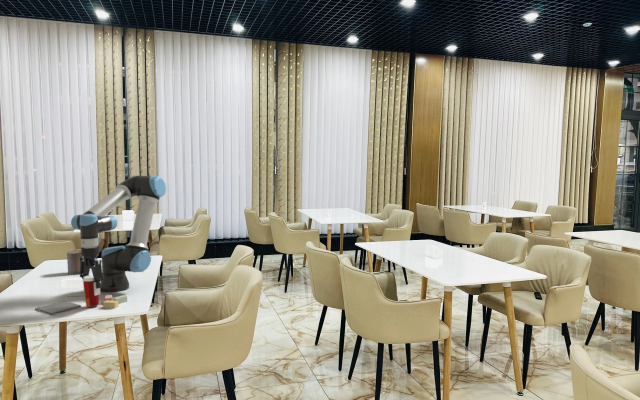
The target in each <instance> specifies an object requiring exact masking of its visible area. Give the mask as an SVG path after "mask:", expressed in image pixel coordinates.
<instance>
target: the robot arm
mask: <svg viewBox="0 0 640 400" xmlns="http://www.w3.org/2000/svg"><path fill="white" fill-rule="evenodd" d="M166 192H167V185H166V183H165V180H164V179H163V177H160V176H158V175H134V176H130V177H129V178H127V179H125V180H124V181H122V182H120V183H118V185H116V186H115V189H114V190H113V191H112V192H110V193H109V194H108V195H107V196H105V197H104V198H102V199H101V200H100V201H99V202H97V203H96V204H94V205H93V206H92V207H91V208H89V209H88V210H86V211H85V212H83V214H75V215H74V216H73V217H72V218H71V219H70V225H71V227H72V228H73V229H74V230H78V231H80V246H81V248H80V250H81V255H82V256H84V257H81V258H80V274H79V277H80V278H81V279H82V280H83V278H84V277H85V276H89V275H90V272H92V275H93V277H94V280H95V281H93V282H94V295H95V296H96V295H99V296H100V295H101V292H103V293H115V292H121V291H125V290H128V289H130V282H129V279H128V277H127V274H126V272H132V273H142V272H143V273H144V271H146V270H147V269H148V268H149V266H150V265H151V262H152V255H151V253H150V251H149V247H148V246H147V244H148V239H149V235H150V231H151V230H150V229H151V226H152V225H151V224H152V222H153V216H154V211H155V206H156V205H157V203H158V202H159V201H160V198H162V197H163V196H165V194H166ZM133 197H136V198H137V199H138V205H137V210H136V213H135V214H136V215H135V218H134V223H133V227H132V231H131V236H130V239H129V243H127V244H125V245H119V246H118V245H117V246H111V247H106V248H104V249H102V251H101V259H98V257H97V256H98V255H99V253H100V250H99V249H100V247H99V243H100V242H99V233H103V232H104V233H105V232H110V231H113V230H115V229H116V228H117V227H118V220H117V218H116V216H114V215H113V214H112V215H111V214H109V213H110V212H111V211H113V210H115V208H117V207H118V206H119V205H121V204H122V203H123V202H125V201H127V200H129V199H131V198H133ZM108 214H109V215H108ZM90 269H91V271H90ZM82 284H83V285H82V286H83V287H84V283H83V282H82ZM83 293H84V294H85V291H84V290H83Z"/></svg>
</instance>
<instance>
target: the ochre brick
mask: <svg viewBox="0 0 640 400" xmlns="http://www.w3.org/2000/svg"><path fill="white" fill-rule="evenodd" d="M102 307H103V309H116V308H118V307H119V304H118V301H113V300H112V301H109V300H106V301H105V300H104V301H103V302H102Z"/></svg>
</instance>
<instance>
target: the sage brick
mask: <svg viewBox="0 0 640 400" xmlns="http://www.w3.org/2000/svg"><path fill="white" fill-rule="evenodd" d="M112 301H118V305H120V304H124V303H127V302H128V296H127V295H123V294H122V295H120V296H119V295H118V296H115V297H112Z"/></svg>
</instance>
